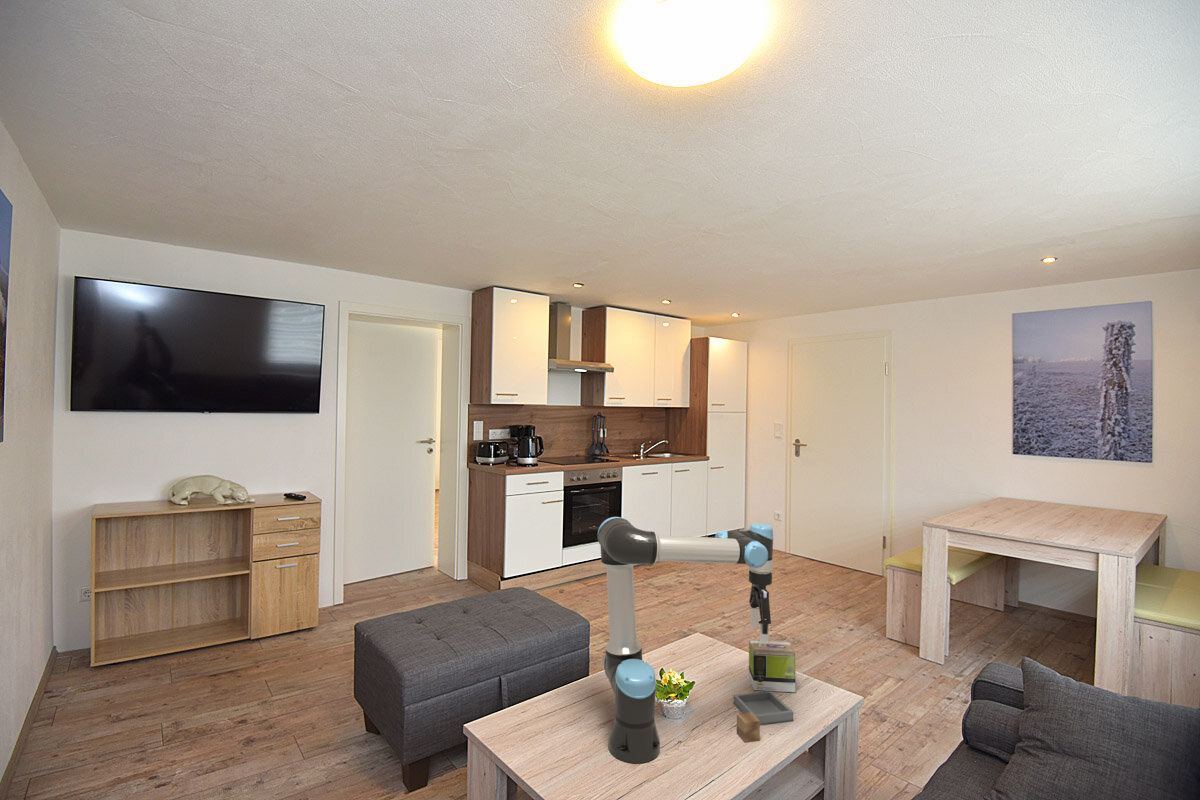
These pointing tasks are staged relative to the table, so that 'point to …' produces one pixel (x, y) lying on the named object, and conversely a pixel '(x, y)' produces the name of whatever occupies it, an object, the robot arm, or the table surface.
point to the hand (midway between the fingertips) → (758, 635)
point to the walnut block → (748, 727)
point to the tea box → (772, 666)
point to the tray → (763, 707)
